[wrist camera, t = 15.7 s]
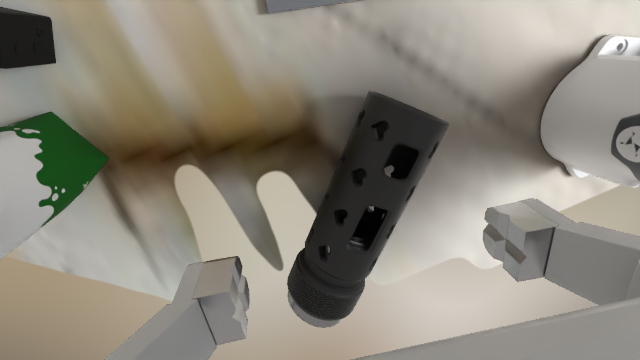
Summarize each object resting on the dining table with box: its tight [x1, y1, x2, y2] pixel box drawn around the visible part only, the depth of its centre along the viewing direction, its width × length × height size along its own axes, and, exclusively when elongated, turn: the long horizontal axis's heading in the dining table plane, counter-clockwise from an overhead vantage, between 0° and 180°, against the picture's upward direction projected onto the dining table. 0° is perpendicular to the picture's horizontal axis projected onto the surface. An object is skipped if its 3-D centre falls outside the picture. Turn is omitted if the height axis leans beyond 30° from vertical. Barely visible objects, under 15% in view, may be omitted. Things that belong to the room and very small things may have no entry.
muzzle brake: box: [287, 91, 449, 328], centre depth 38 cm, size 10×28×10 cm, turn 158°
